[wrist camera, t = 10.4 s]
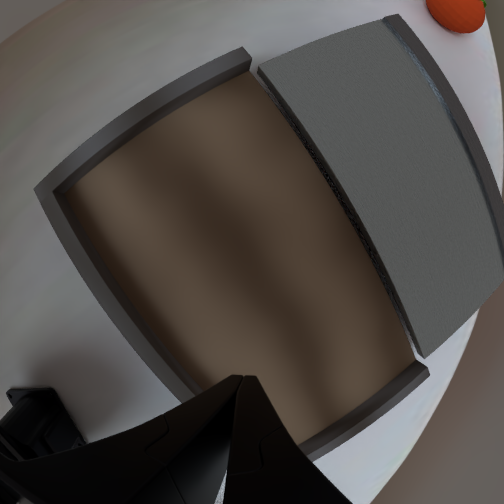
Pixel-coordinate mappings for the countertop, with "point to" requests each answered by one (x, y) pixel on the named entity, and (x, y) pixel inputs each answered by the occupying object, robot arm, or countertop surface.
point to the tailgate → (401, 167)
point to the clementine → (458, 14)
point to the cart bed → (232, 256)
